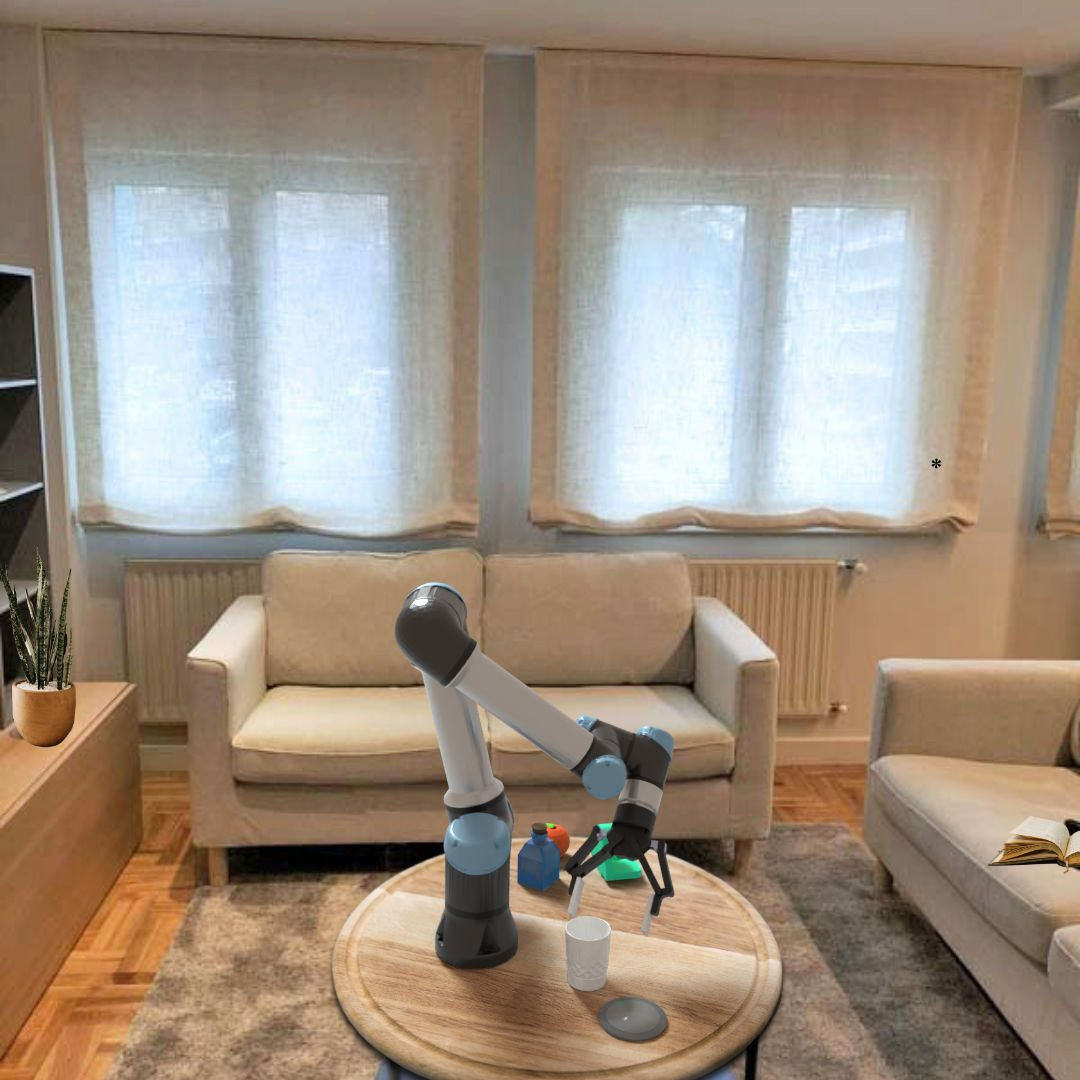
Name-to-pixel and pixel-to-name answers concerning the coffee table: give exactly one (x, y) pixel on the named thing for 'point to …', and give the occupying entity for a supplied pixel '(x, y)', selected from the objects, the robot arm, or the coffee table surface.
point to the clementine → (558, 837)
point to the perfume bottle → (538, 860)
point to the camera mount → (616, 863)
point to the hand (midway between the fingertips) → (607, 924)
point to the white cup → (587, 952)
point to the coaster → (632, 1018)
